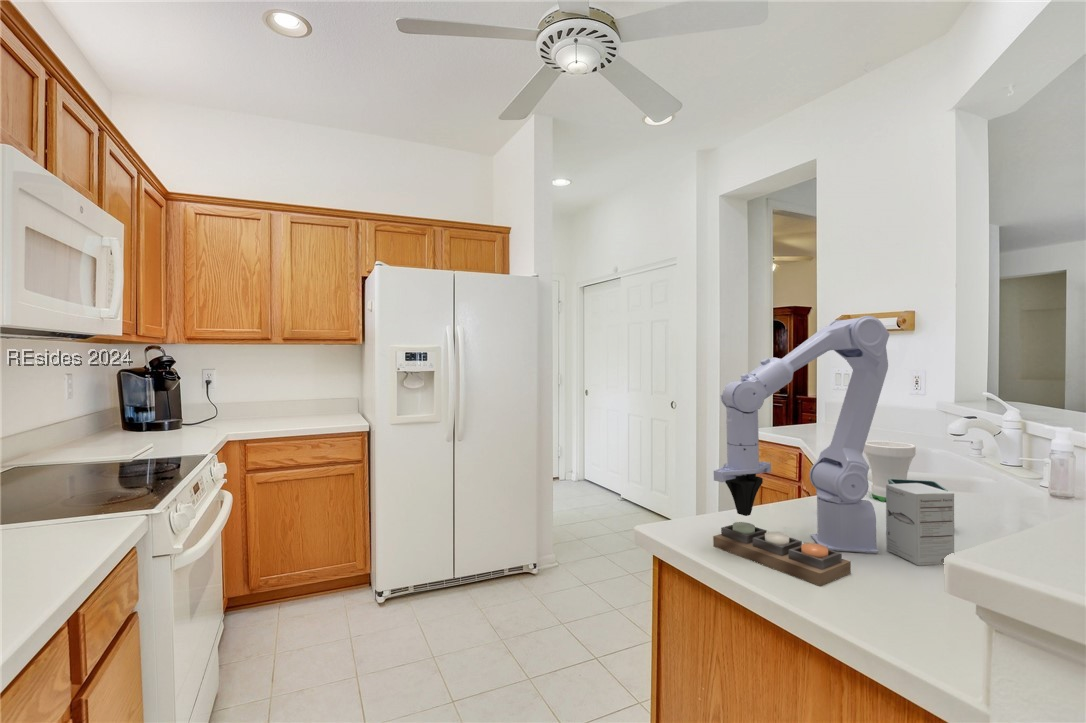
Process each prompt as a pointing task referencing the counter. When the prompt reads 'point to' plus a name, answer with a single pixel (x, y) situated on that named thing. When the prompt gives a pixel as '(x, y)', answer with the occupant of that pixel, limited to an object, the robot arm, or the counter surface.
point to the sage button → (743, 527)
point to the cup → (888, 463)
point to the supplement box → (919, 522)
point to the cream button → (777, 538)
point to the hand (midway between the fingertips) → (743, 514)
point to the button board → (783, 556)
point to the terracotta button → (814, 550)
